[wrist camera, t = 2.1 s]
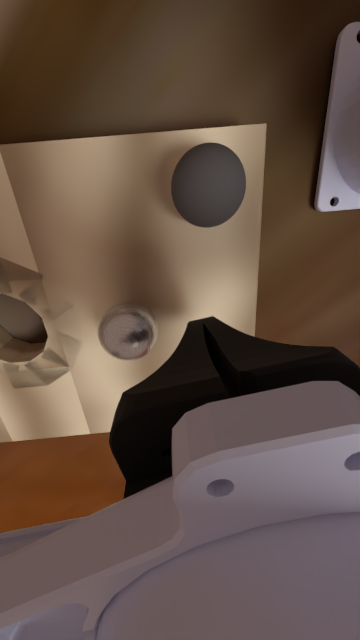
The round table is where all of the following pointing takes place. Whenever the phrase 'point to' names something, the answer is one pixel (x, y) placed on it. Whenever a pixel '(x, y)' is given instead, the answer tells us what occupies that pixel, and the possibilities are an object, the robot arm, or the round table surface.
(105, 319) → the steel ball
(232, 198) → the black rubber ball
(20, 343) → the plate
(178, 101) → the round table surface
